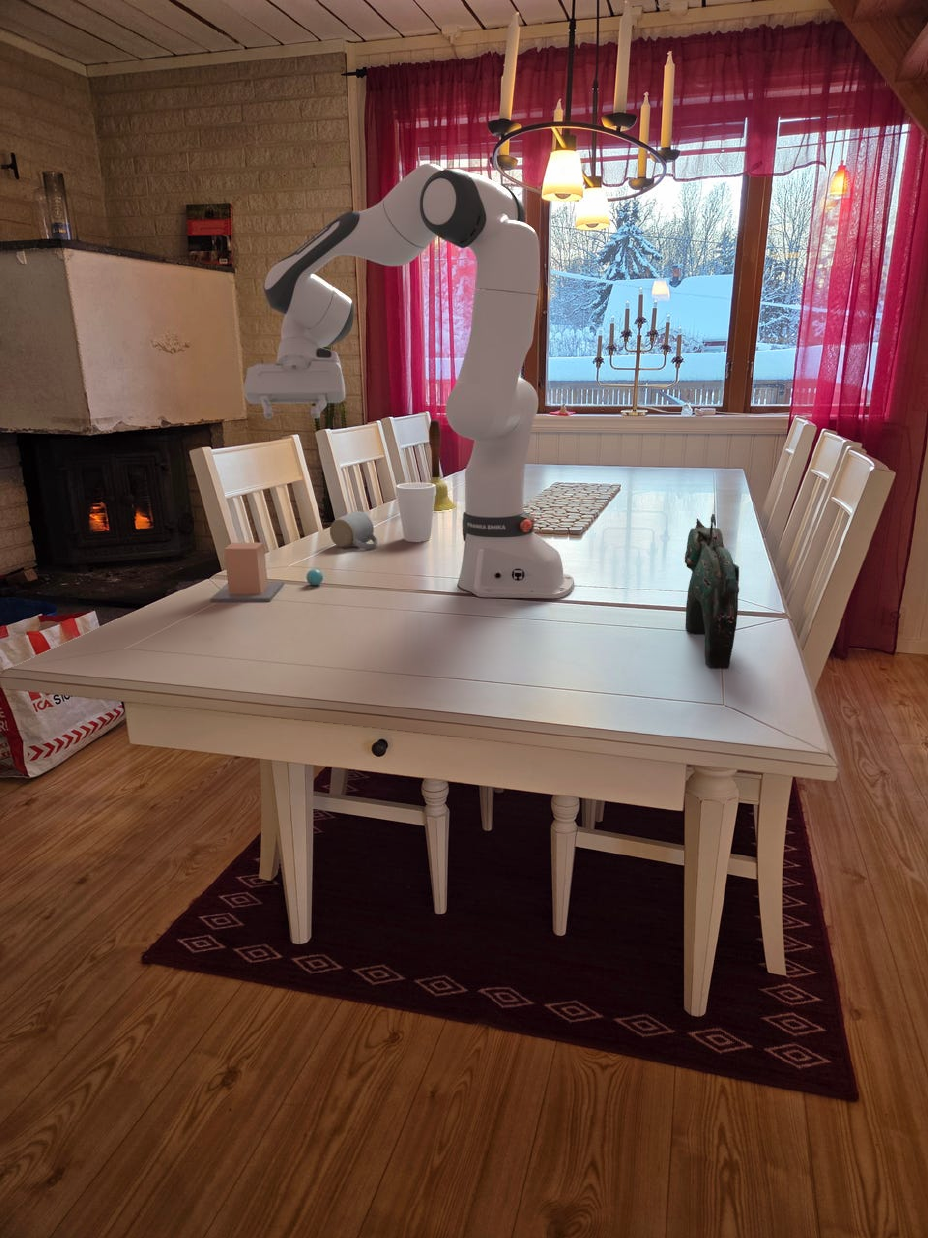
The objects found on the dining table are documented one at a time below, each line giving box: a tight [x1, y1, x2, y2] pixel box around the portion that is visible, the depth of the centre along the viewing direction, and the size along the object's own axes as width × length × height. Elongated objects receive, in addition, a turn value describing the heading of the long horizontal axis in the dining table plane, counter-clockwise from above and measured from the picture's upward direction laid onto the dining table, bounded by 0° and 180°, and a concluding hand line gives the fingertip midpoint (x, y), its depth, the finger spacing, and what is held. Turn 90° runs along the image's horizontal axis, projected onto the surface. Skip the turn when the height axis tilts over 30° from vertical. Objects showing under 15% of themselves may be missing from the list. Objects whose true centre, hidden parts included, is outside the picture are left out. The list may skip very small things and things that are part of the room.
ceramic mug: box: [329, 510, 378, 551], centre depth 186 cm, size 11×8×8 cm
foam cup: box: [395, 482, 436, 543], centre depth 191 cm, size 10×9×13 cm
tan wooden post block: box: [223, 542, 268, 594], centre depth 150 cm, size 6×5×9 cm
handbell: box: [427, 419, 457, 511], centre depth 227 cm, size 12×12×25 cm
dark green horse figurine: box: [684, 513, 740, 669], centre depth 118 cm, size 20×6×20 cm, turn 174°
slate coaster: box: [209, 581, 285, 603], centre depth 151 cm, size 11×11×1 cm
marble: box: [305, 568, 324, 586], centre depth 155 cm, size 3×3×3 cm
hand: (291, 416), depth 157 cm, fingers open, 8 cm apart
